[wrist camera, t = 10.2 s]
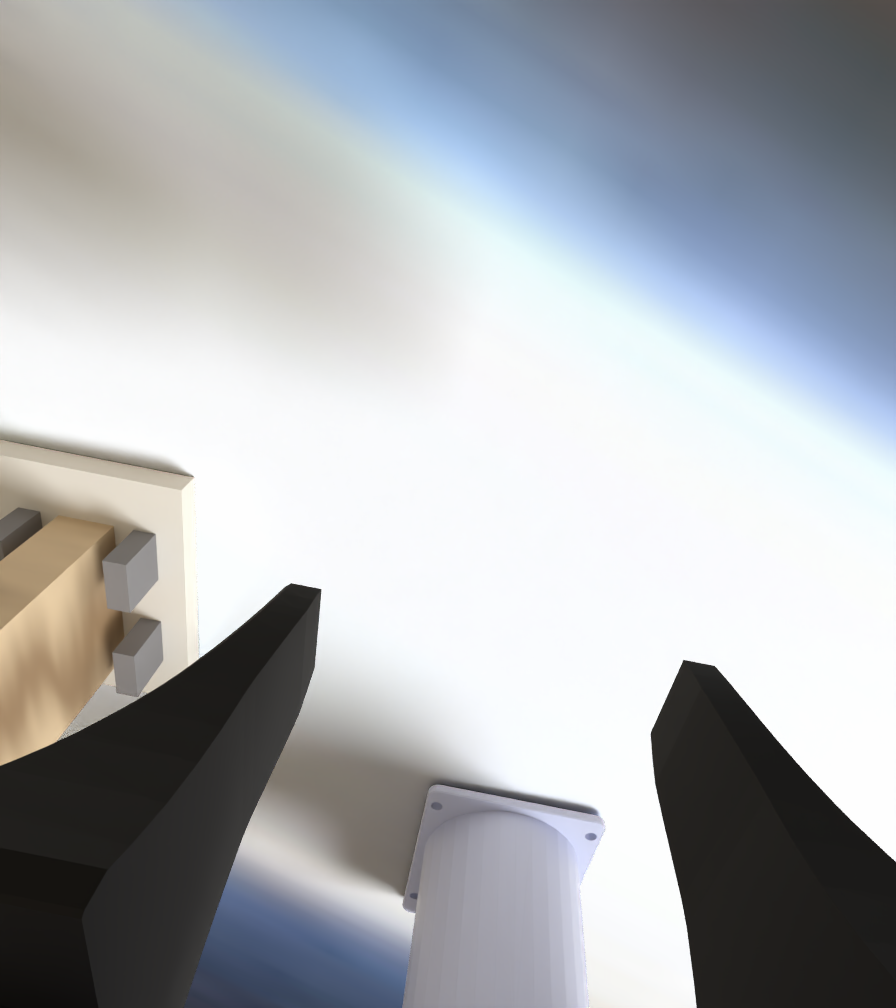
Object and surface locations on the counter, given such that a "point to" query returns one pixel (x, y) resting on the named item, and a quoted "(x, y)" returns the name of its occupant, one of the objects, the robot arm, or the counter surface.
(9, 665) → the wooden block
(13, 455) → the cream pegged base plate
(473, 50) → the counter surface
